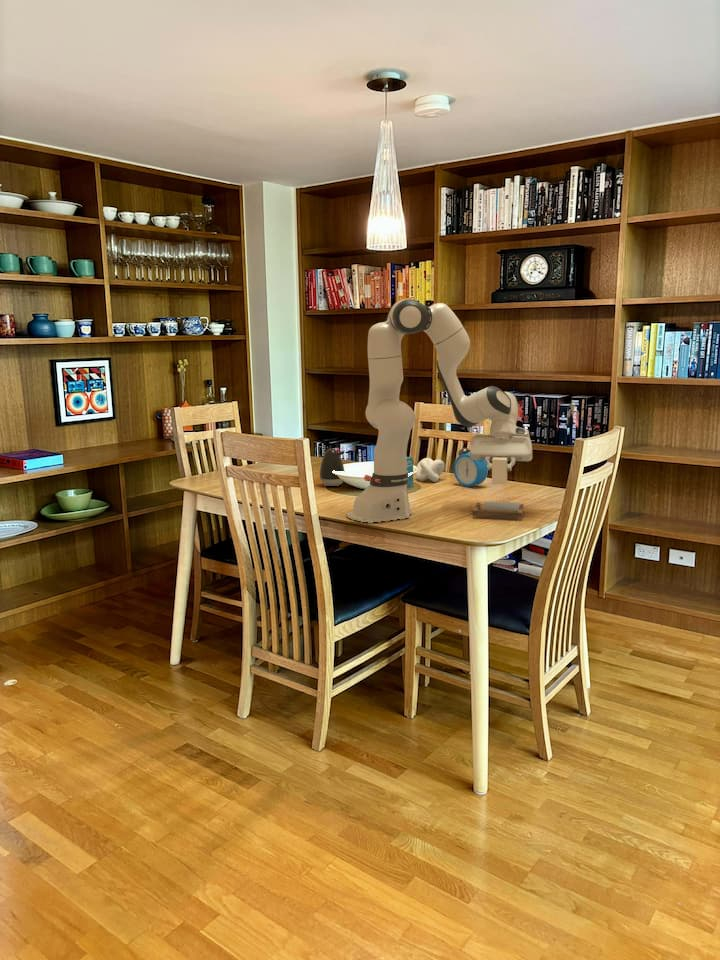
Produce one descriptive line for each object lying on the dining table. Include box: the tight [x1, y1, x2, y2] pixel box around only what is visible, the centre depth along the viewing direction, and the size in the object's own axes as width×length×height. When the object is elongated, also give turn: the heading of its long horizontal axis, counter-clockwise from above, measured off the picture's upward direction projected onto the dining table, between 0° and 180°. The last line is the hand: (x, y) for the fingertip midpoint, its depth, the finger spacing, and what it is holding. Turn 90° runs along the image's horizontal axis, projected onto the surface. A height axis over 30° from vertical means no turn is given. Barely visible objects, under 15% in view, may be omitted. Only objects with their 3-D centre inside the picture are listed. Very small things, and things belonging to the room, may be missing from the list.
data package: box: [407, 456, 414, 489], centre depth 291 cm, size 12×4×12 cm, turn 147°
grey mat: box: [481, 500, 521, 512], centre depth 254 cm, size 12×12×2 cm
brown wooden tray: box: [472, 502, 525, 522], centre depth 242 cm, size 12×15×4 cm
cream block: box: [491, 457, 508, 485], centre depth 240 cm, size 4×4×8 cm
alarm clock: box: [452, 447, 489, 488], centre depth 293 cm, size 13×6×15 cm, turn 44°
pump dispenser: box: [319, 448, 345, 487], centre depth 298 cm, size 10×10×15 cm
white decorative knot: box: [415, 457, 445, 483], centre depth 304 cm, size 11×12×9 cm
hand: (499, 469), depth 239 cm, fingers closed on cream block, 4 cm apart
